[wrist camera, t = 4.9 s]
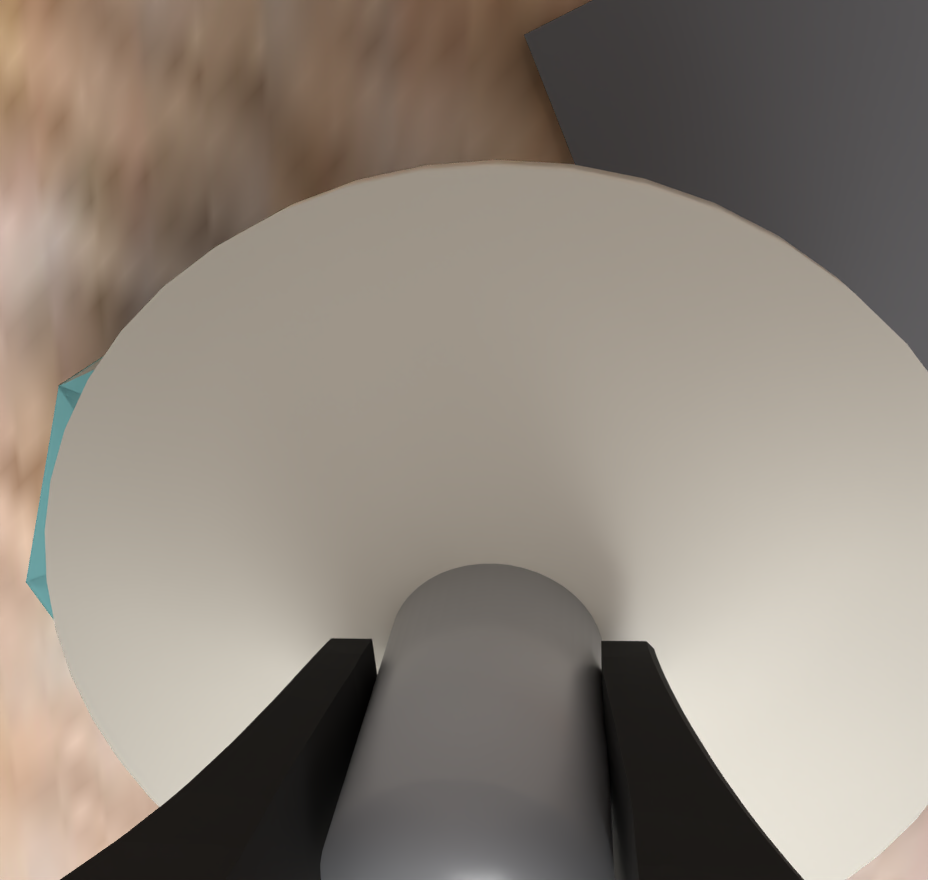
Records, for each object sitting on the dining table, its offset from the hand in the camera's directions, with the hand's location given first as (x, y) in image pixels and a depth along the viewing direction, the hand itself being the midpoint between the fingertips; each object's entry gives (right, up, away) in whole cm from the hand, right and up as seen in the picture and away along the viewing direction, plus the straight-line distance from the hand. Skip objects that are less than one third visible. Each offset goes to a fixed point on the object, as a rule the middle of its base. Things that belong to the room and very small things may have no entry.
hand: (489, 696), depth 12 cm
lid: (0, +1, +1) cm, 2 cm away
